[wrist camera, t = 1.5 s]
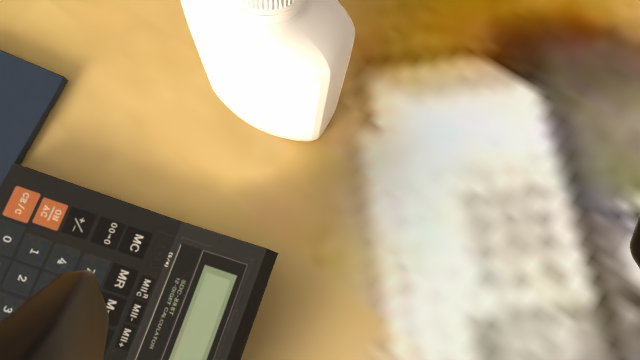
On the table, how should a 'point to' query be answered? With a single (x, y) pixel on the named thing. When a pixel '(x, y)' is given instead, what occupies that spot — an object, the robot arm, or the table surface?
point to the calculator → (132, 269)
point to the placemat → (23, 106)
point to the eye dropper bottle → (275, 60)
